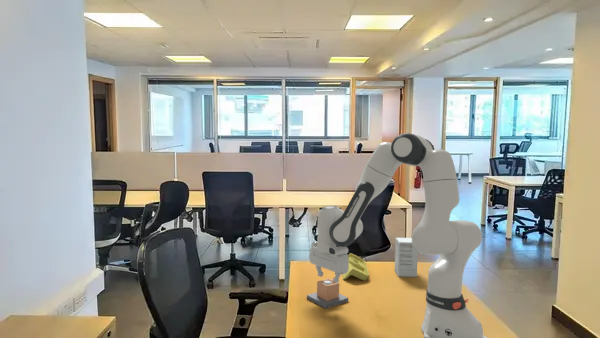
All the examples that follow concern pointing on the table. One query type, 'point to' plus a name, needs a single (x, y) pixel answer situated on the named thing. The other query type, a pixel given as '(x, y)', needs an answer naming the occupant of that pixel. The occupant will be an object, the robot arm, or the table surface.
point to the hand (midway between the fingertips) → (328, 279)
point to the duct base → (328, 303)
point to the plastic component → (356, 268)
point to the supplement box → (405, 258)
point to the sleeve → (327, 290)
